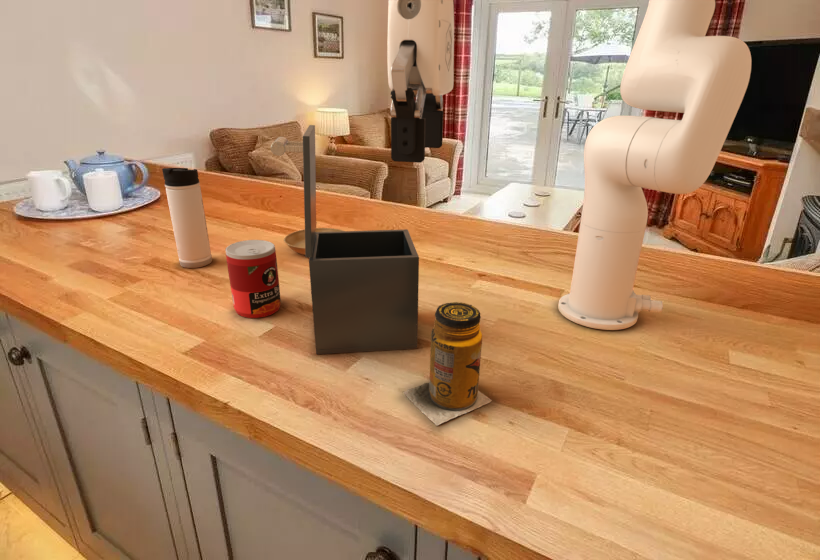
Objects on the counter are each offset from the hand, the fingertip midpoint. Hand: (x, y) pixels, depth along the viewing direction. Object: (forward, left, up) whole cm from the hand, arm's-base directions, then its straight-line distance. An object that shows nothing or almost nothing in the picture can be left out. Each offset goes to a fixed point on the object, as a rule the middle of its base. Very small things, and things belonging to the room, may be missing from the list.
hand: (418, 153), depth 52 cm
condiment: (-4, +2, -30) cm, 30 cm away
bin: (+11, -12, -29) cm, 34 cm away
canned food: (+31, -15, -30) cm, 45 cm away
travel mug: (+54, -31, -30) cm, 69 cm away
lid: (+17, -10, -7) cm, 21 cm away
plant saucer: (+33, -46, -30) cm, 64 cm away
